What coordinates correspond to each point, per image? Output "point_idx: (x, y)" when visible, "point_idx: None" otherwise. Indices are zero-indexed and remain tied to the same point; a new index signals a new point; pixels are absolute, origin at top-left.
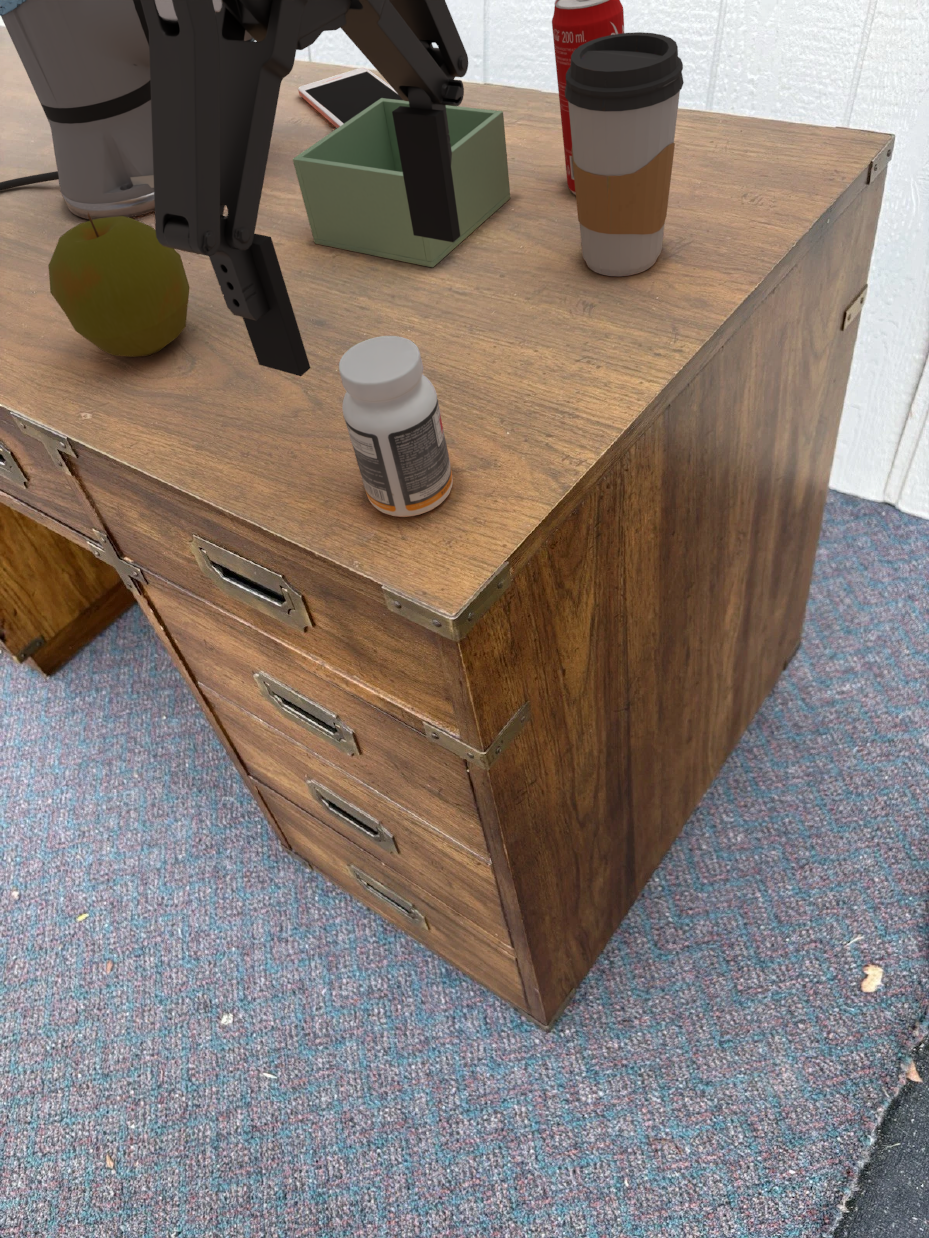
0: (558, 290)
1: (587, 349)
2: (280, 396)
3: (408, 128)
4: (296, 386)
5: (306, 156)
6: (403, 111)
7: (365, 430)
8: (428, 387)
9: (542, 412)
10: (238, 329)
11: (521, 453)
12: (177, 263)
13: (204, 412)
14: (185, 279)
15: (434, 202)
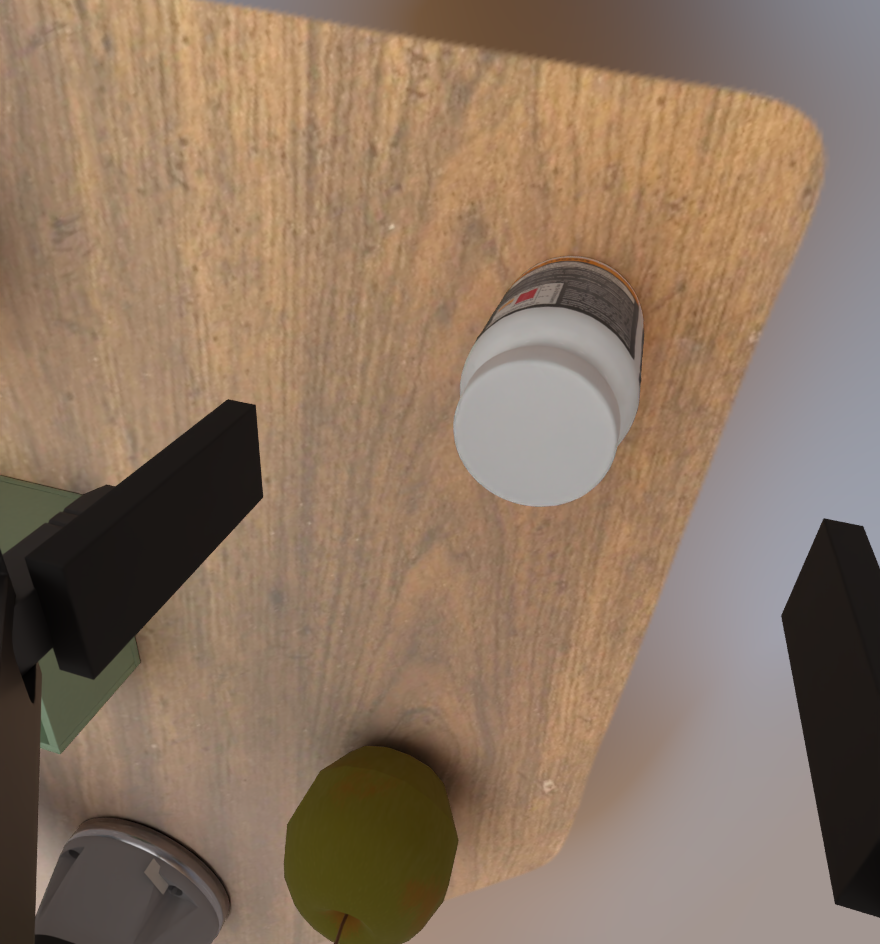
0: (52, 295)
1: (152, 182)
2: (434, 588)
3: (109, 619)
4: (407, 577)
5: (43, 740)
6: (79, 654)
7: (637, 404)
8: (510, 334)
9: (323, 189)
10: (331, 686)
11: (430, 180)
12: (316, 806)
13: (497, 665)
14: (319, 782)
15: (212, 478)
